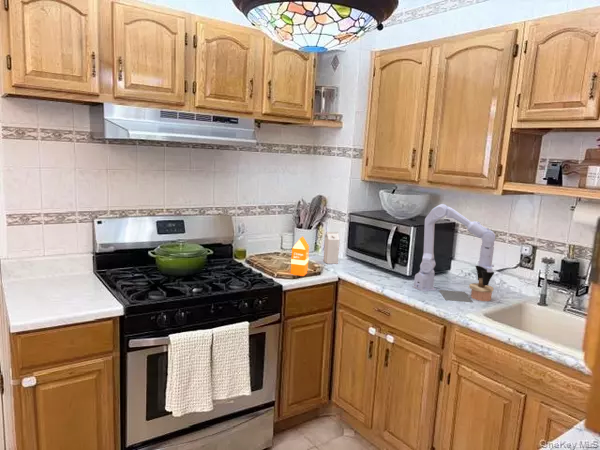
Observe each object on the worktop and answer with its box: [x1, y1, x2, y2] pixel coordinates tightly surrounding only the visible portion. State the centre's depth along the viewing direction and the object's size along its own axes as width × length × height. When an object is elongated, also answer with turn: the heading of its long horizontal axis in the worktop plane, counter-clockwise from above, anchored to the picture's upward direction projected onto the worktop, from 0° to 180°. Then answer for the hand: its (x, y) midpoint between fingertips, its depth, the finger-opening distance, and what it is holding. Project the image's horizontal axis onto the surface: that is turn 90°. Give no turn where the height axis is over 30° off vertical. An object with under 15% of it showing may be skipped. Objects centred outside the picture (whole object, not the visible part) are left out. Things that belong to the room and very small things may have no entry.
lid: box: [468, 278, 495, 293], centre depth 217 cm, size 11×11×5 cm
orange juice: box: [290, 236, 310, 277], centre depth 244 cm, size 8×9×20 cm
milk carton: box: [323, 231, 341, 265], centre depth 271 cm, size 7×7×19 cm
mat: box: [438, 289, 474, 303], centre depth 219 cm, size 13×16×1 cm
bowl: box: [470, 289, 493, 302], centre depth 218 cm, size 9×9×5 cm
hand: (482, 282), depth 217 cm, fingers open, 7 cm apart
